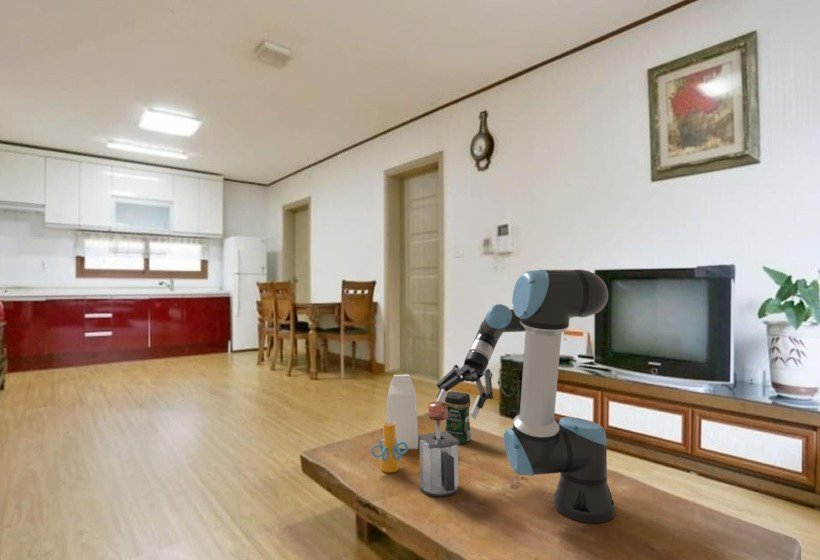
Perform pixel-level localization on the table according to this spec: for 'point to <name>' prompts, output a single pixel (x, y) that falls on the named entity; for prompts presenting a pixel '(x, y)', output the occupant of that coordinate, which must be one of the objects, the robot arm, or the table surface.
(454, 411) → the coffee jar
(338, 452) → the table surface
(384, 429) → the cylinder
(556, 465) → the robot arm
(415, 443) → the milk
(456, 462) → the press carafe
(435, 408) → the plunger
